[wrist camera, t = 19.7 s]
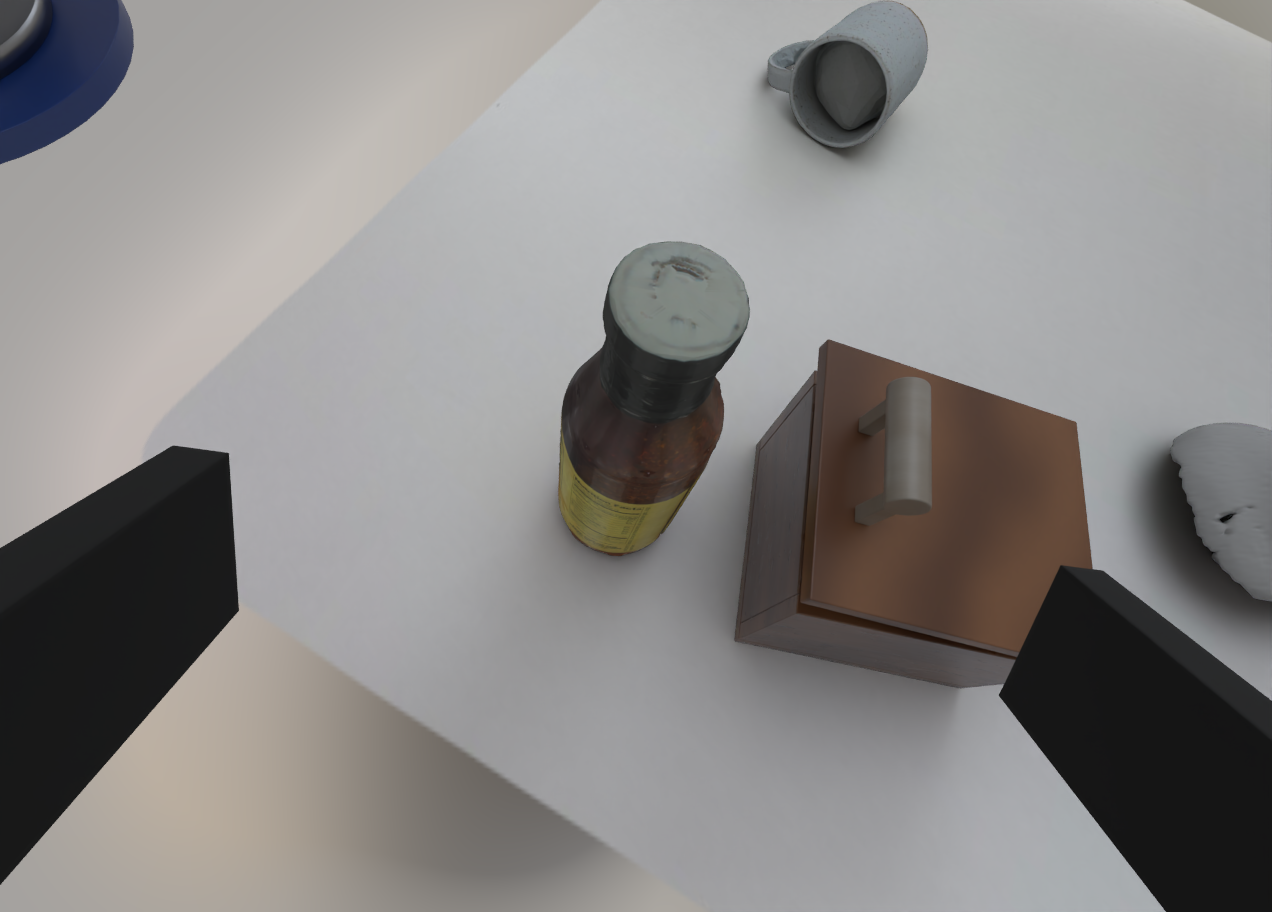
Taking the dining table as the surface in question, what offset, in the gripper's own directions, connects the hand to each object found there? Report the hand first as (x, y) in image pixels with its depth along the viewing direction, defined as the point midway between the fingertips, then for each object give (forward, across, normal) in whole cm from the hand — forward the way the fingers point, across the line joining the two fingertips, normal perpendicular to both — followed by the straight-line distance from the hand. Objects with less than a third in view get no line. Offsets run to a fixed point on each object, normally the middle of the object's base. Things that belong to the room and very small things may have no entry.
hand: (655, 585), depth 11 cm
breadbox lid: (+16, +15, -4) cm, 22 cm away
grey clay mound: (+26, +40, -8) cm, 48 cm away
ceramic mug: (+48, +14, +14) cm, 52 cm away
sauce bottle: (+24, +1, -11) cm, 26 cm away
